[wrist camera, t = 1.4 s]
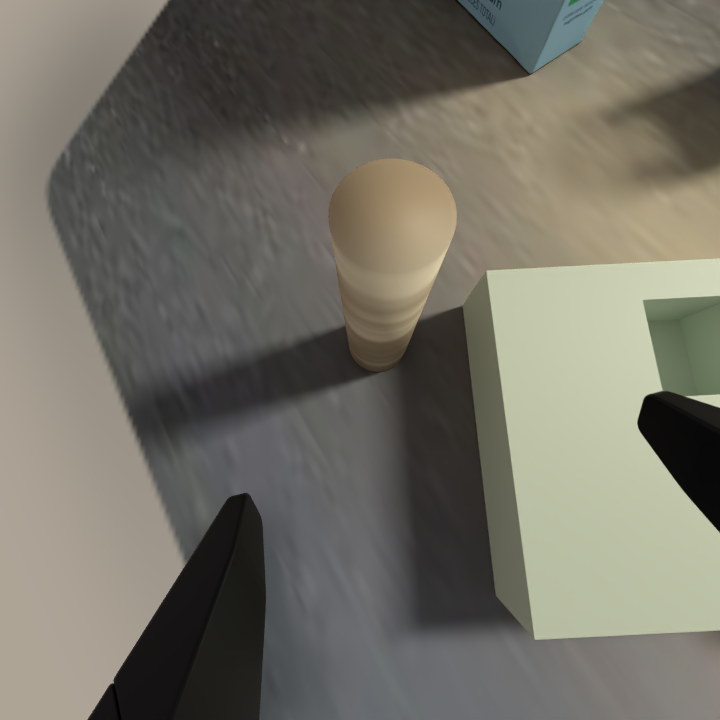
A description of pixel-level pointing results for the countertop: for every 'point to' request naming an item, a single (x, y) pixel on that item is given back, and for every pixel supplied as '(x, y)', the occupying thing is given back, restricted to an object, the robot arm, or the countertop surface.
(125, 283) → the countertop surface
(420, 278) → the pin
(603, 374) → the plinth
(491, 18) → the gum box
